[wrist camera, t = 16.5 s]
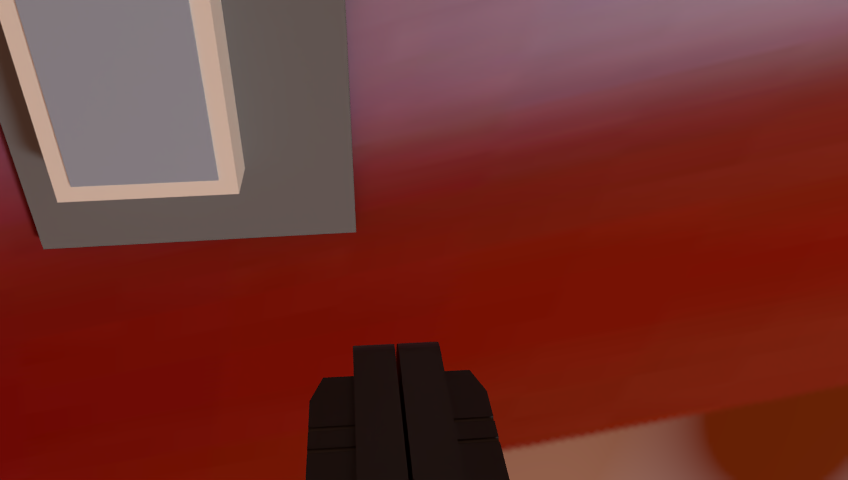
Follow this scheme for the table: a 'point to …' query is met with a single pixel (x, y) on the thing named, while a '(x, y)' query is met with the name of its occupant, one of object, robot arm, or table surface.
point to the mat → (259, 131)
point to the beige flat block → (128, 96)
